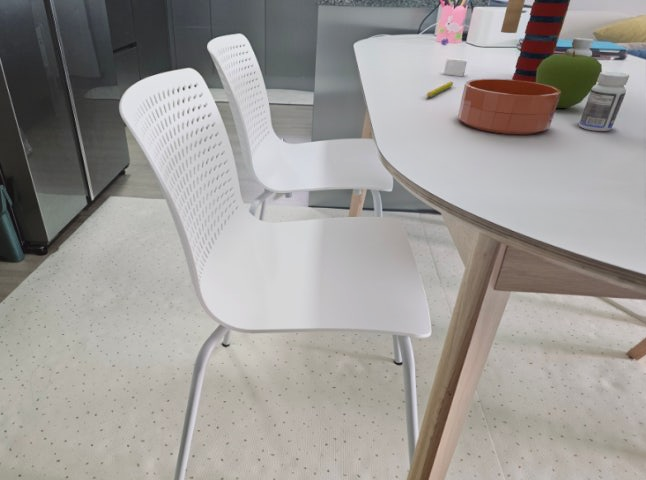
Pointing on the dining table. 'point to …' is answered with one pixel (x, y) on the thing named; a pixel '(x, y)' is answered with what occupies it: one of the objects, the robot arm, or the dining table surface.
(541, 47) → the red striped curved tube
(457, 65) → the eraser
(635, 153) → the dining table surface
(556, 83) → the apple
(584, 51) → the supplement bottle
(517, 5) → the stirring stick
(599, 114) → the pill bottle
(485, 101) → the bowl
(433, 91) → the pencil
